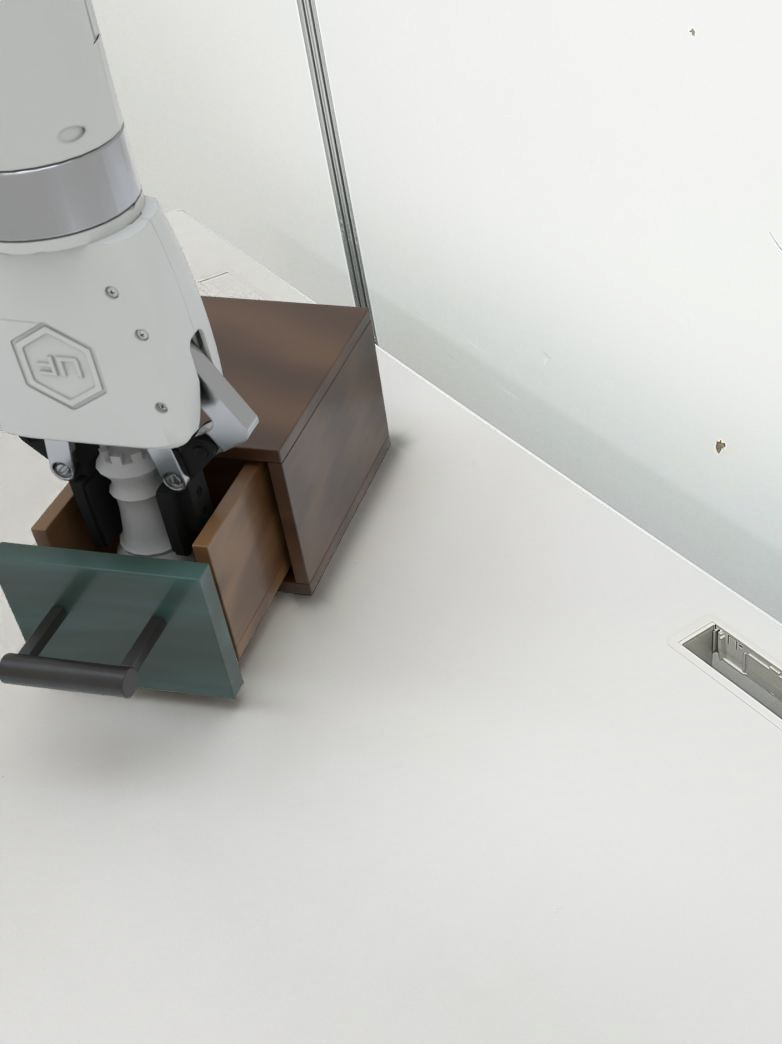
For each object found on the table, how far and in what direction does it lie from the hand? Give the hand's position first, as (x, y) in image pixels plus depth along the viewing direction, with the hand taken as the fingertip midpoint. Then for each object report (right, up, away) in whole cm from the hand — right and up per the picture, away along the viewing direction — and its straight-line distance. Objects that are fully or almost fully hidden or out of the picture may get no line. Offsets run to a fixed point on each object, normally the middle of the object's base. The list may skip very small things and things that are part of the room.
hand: (153, 531), depth 63 cm
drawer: (0, -5, +3) cm, 6 cm away
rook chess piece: (0, -2, +2) cm, 3 cm away
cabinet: (+2, +2, +12) cm, 13 cm away
